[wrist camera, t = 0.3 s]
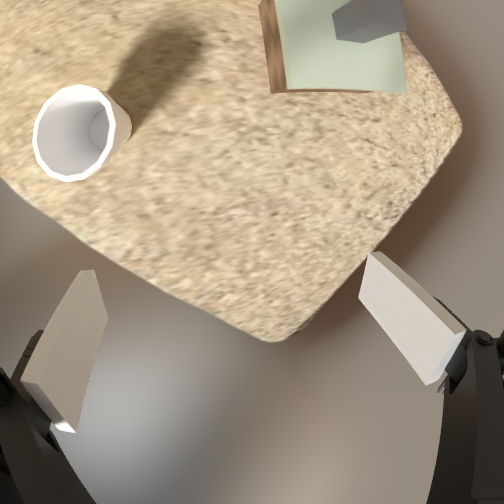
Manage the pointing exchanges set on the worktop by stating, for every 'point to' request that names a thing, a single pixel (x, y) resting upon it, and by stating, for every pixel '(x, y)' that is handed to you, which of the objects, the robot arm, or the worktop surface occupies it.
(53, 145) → the foam cup
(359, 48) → the lid
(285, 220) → the worktop surface
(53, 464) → the robot arm
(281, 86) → the box
